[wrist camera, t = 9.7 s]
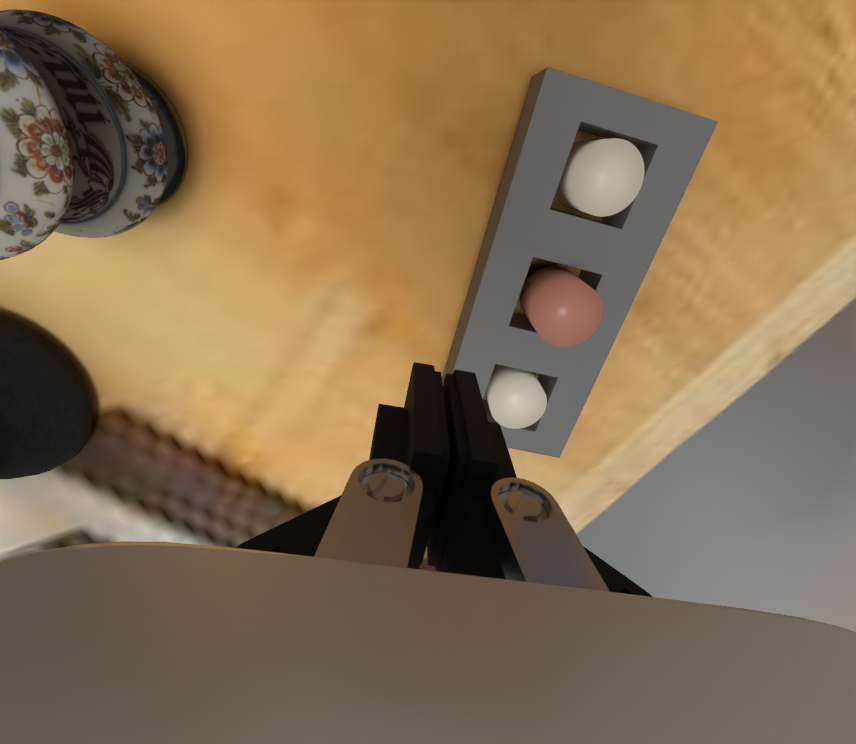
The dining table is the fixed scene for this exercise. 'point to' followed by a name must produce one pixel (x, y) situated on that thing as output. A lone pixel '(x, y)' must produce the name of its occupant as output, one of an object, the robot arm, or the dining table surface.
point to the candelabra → (38, 404)
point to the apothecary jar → (78, 136)
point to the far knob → (515, 397)
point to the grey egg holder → (570, 241)
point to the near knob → (601, 176)
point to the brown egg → (561, 306)
